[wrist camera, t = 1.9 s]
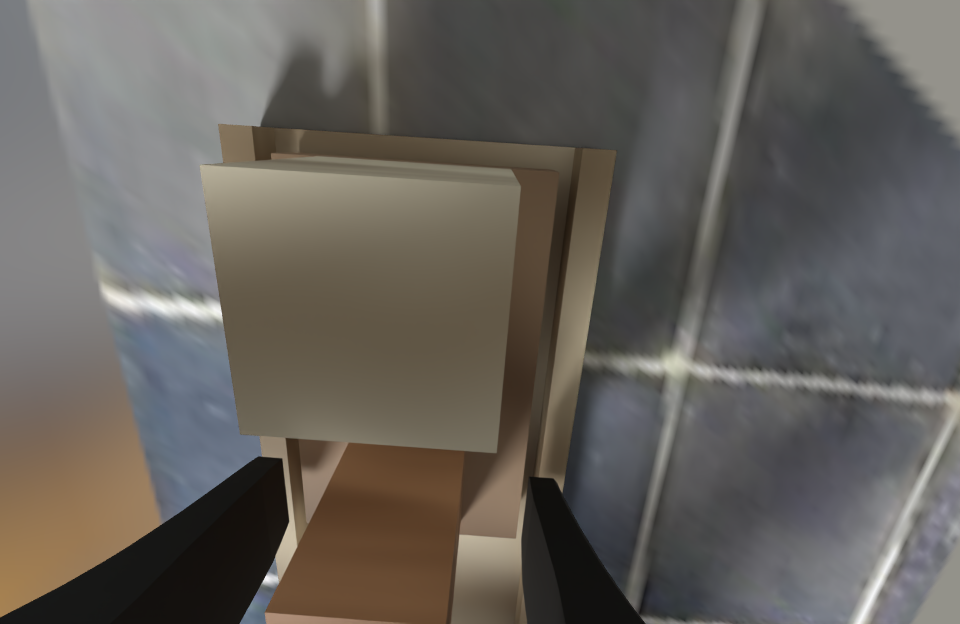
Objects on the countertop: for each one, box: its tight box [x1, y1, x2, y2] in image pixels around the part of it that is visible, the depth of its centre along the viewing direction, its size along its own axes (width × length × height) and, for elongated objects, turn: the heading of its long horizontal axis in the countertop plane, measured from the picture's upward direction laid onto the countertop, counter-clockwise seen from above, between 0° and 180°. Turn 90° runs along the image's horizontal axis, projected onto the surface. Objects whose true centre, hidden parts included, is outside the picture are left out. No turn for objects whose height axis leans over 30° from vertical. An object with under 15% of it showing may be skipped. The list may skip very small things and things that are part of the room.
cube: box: [200, 156, 521, 453], centre depth 8 cm, size 4×4×4 cm
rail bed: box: [218, 124, 617, 624], centre depth 13 cm, size 17×8×2 cm, turn 177°
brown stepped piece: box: [265, 152, 560, 624], centre depth 9 cm, size 10×6×6 cm, turn 177°
